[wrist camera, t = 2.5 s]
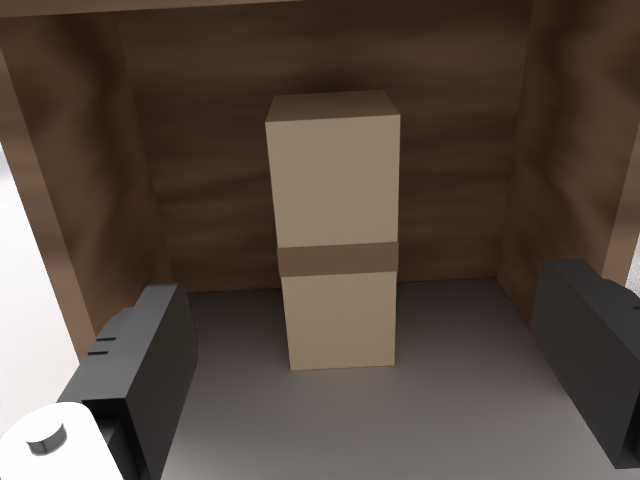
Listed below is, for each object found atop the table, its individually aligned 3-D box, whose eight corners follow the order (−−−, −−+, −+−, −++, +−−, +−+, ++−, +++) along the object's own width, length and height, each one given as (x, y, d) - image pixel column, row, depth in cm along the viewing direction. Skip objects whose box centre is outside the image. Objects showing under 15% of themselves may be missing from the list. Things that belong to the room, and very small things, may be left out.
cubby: (594, 395, 21) (724, -74, 13) (99, 418, 22) (-61, -28, 14) (506, 267, 31) (552, -49, 23) (165, 285, 31) (93, -22, 23)
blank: (395, 366, 24) (401, 115, 18) (289, 371, 24) (263, 122, 18) (382, 304, 28) (383, 89, 23) (293, 309, 28) (273, 95, 23)
